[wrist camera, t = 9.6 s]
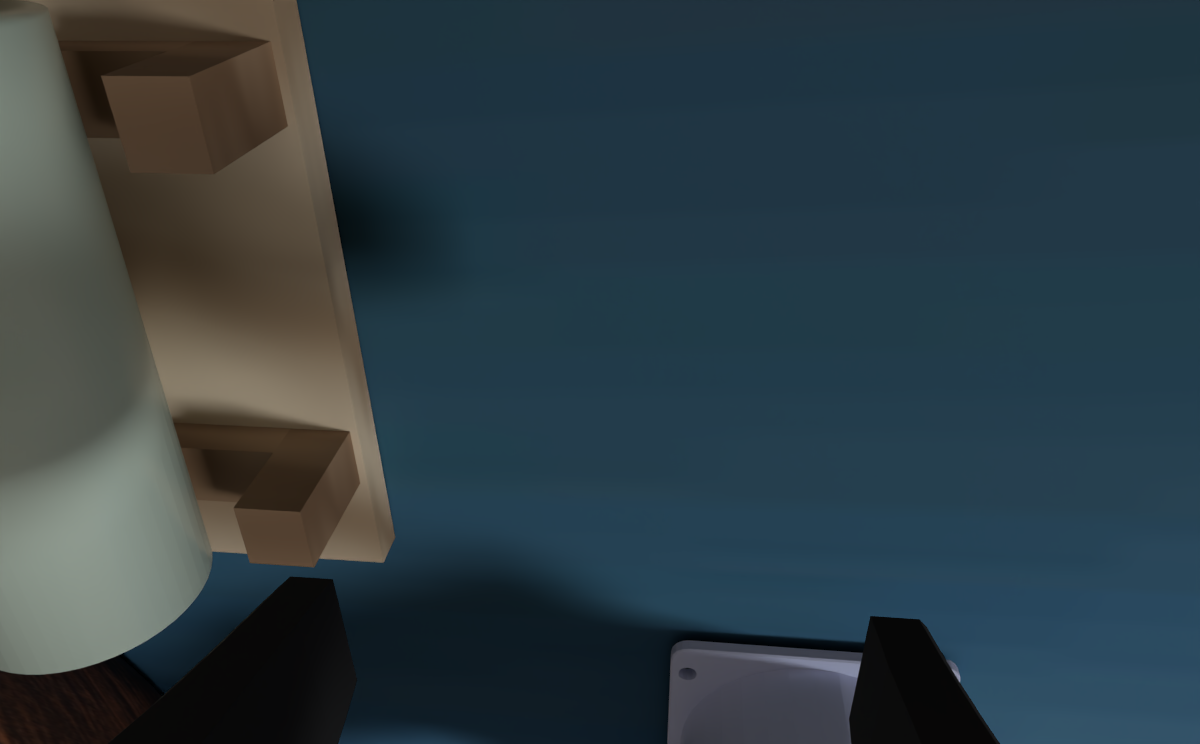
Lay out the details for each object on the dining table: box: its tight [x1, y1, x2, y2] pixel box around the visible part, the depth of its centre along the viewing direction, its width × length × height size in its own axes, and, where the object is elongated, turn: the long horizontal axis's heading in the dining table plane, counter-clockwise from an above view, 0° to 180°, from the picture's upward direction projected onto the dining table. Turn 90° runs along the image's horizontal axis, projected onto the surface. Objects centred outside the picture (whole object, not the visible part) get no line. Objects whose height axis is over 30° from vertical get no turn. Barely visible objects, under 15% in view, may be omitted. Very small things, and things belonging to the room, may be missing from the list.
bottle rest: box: [23, 0, 395, 567], centre depth 19 cm, size 16×10×4 cm, turn 1°
